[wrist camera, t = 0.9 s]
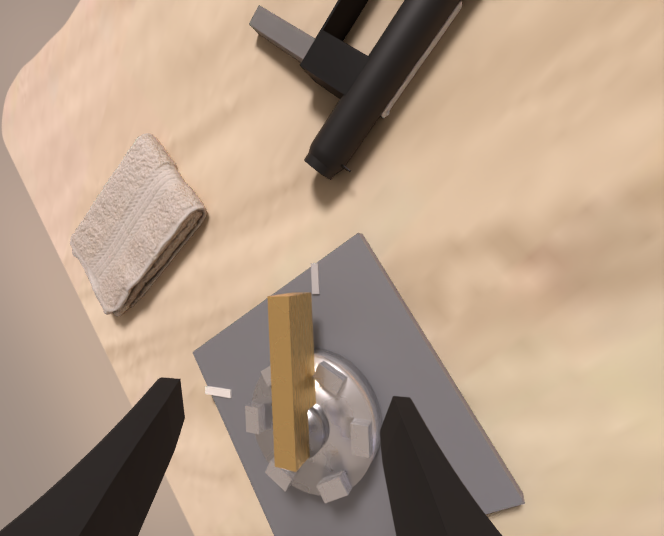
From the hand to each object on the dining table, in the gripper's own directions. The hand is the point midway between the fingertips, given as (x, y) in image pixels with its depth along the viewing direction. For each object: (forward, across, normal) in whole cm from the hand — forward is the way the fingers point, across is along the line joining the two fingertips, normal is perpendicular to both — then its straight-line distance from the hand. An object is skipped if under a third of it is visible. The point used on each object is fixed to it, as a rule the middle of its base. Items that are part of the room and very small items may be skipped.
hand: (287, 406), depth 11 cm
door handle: (+24, -2, -13) cm, 28 cm away
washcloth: (+27, +18, +8) cm, 33 cm away
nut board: (+10, -4, +13) cm, 17 cm away
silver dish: (+10, -2, +11) cm, 15 cm away
